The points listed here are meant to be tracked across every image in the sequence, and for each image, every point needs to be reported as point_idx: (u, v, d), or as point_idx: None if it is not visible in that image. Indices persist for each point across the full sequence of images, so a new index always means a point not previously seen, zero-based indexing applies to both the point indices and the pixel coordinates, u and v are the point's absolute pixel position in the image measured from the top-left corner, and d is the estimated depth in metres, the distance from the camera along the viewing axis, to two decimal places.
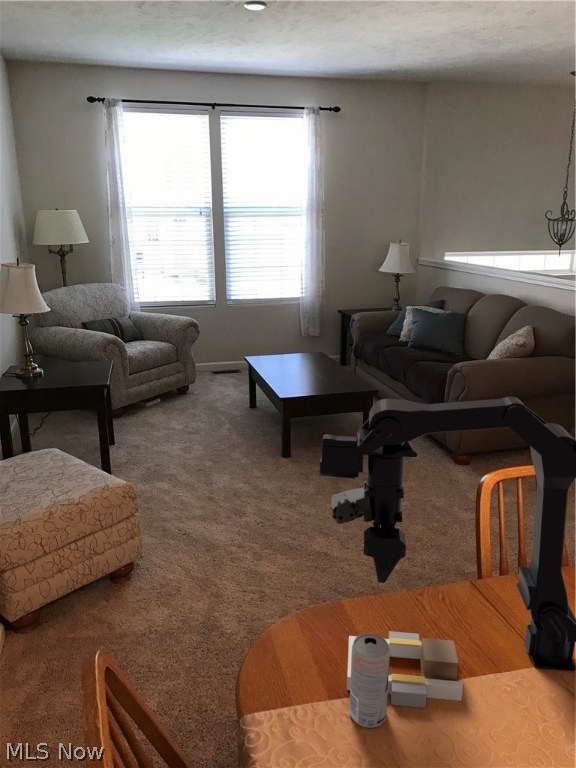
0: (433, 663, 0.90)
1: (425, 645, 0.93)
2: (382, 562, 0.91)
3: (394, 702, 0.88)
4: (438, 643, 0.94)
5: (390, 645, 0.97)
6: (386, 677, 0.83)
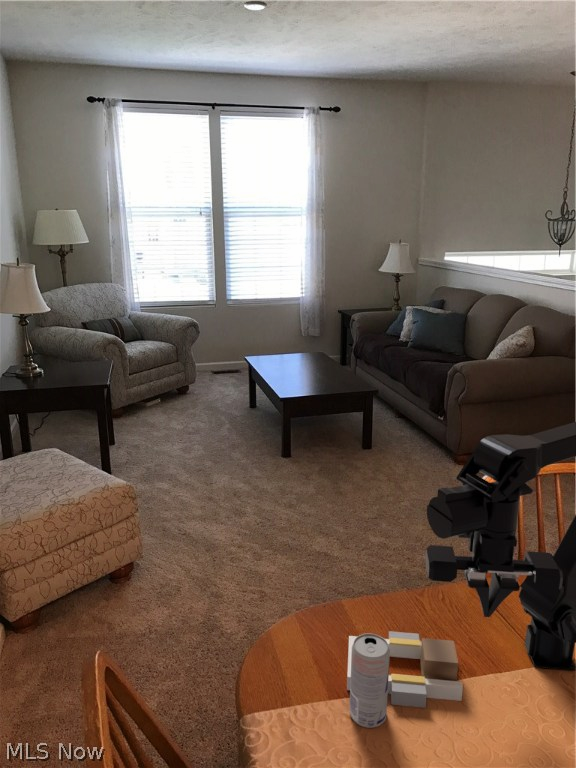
0: (433, 663, 0.90)
1: (425, 645, 0.93)
2: None
3: (394, 702, 0.88)
4: (438, 643, 0.94)
5: (390, 645, 0.97)
6: (386, 677, 0.83)
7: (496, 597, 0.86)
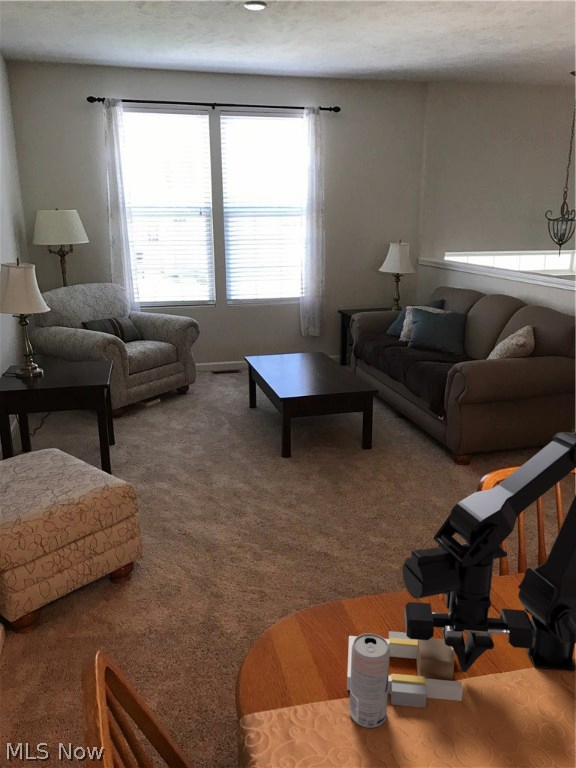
0: (429, 662, 0.90)
1: (421, 644, 0.93)
2: None
3: (394, 702, 0.88)
4: (434, 642, 0.94)
5: (390, 645, 0.97)
6: (386, 677, 0.83)
7: (471, 654, 0.89)
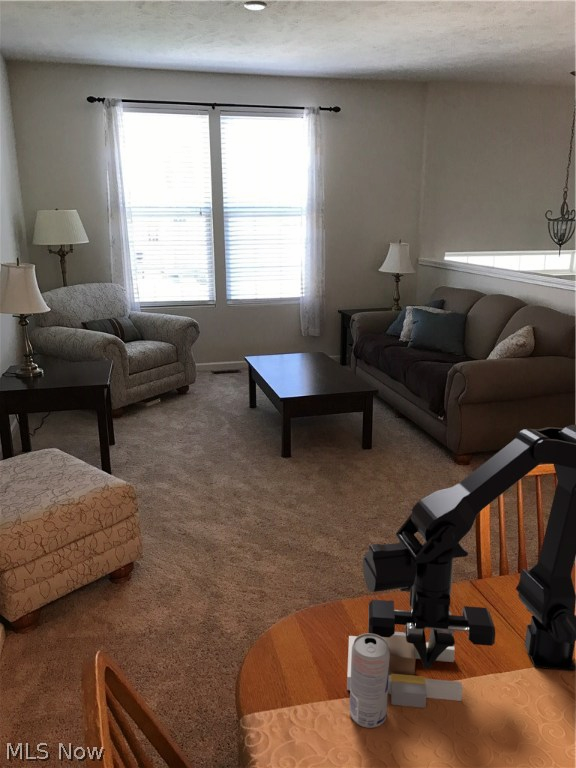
0: (390, 658, 0.91)
1: None
2: None
3: (394, 702, 0.88)
4: (397, 639, 0.94)
5: None
6: (386, 677, 0.83)
7: (433, 651, 0.90)
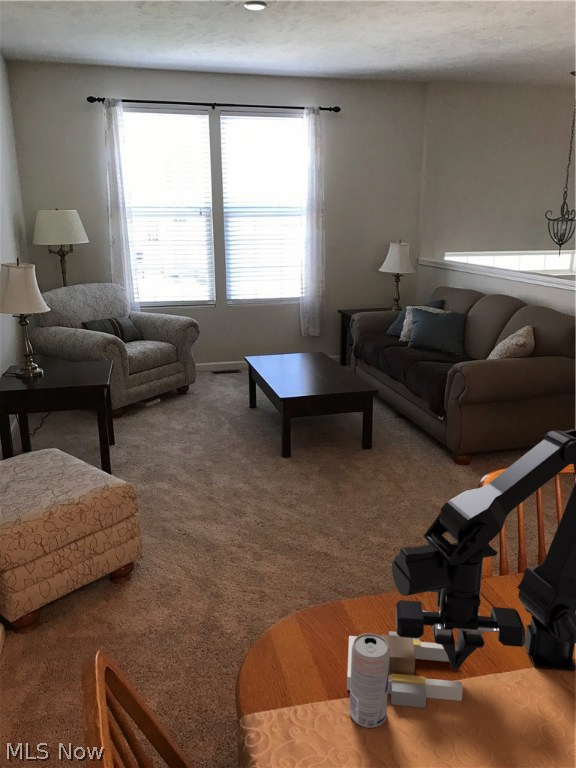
0: (390, 658, 0.91)
1: None
2: None
3: (394, 702, 0.88)
4: (397, 640, 0.94)
5: None
6: (386, 677, 0.83)
7: (462, 652, 0.89)
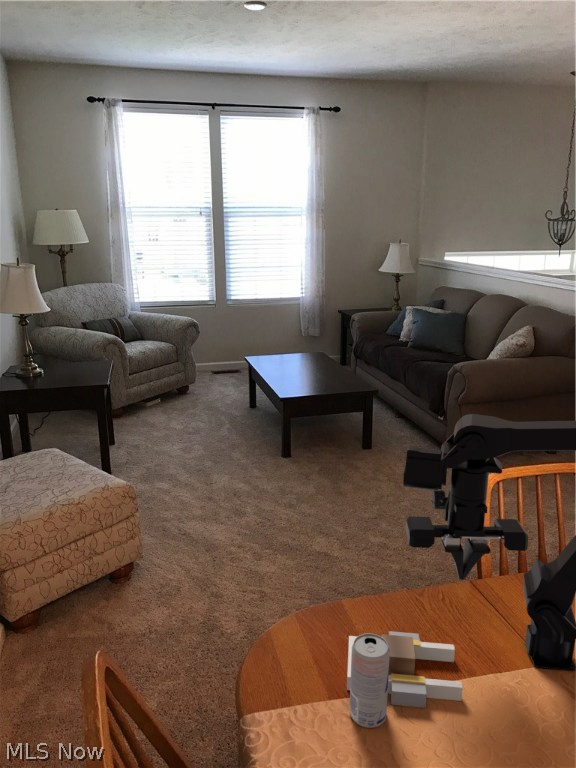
0: (390, 658, 0.91)
1: None
2: None
3: (394, 702, 0.88)
4: (397, 639, 0.94)
5: None
6: (386, 677, 0.83)
7: (470, 560, 0.95)
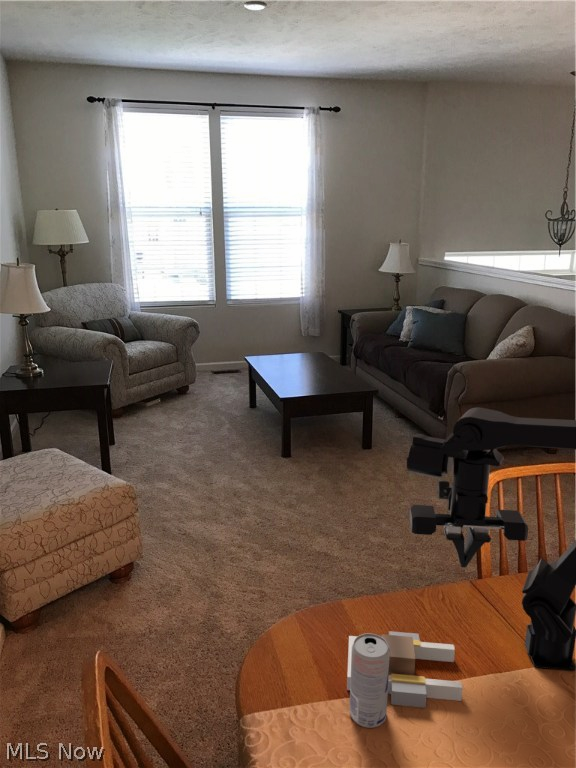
0: (390, 658, 0.91)
1: None
2: None
3: (394, 702, 0.88)
4: (397, 639, 0.94)
5: None
6: (386, 677, 0.83)
7: (470, 548, 0.99)
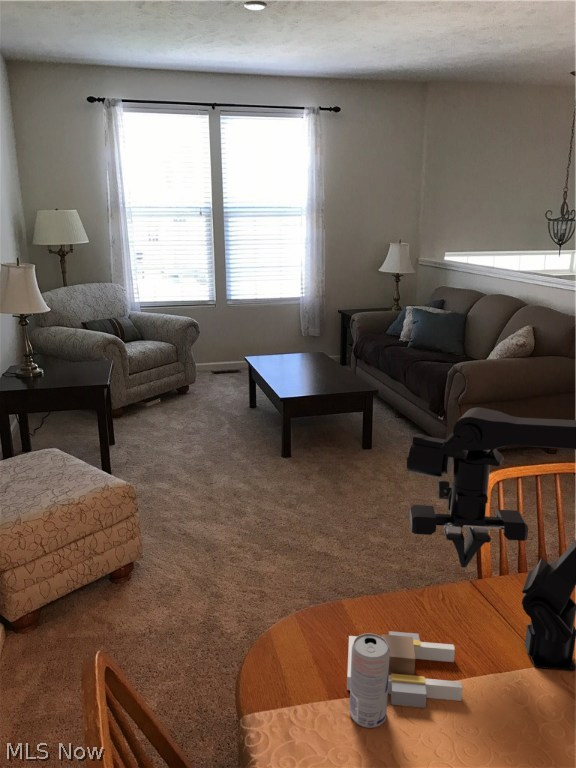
0: (390, 658, 0.91)
1: None
2: None
3: (394, 702, 0.88)
4: (397, 639, 0.94)
5: None
6: (386, 677, 0.83)
7: (470, 548, 0.99)
